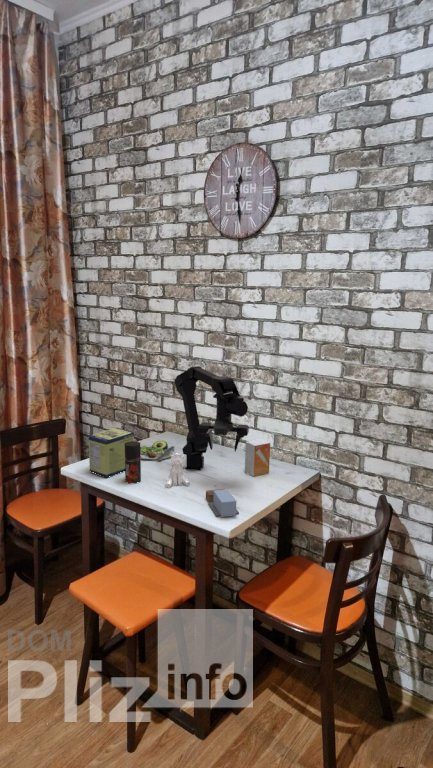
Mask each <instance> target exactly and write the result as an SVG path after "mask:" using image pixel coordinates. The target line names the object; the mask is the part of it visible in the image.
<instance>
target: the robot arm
mask: <svg viewBox="0 0 433 768" xmlns="http://www.w3.org/2000/svg"><path fill="white" fill-rule="evenodd" d="M198 381H200V382H202V383H204V384H206V385H208V386H210V387H211V390H212V391H213V392H214V393H215V394H213V396H212V398H213V399H216V411H215V412H216V414H215V415H216V418H215V421H214V424H213V425H212V422H204V421H202V422H201V423H200V418H199V414H198V408H197V404H196V403H197V402H196V397H195V393H196V390H197V383H198ZM174 385H175V388H176V392H177V393H178V394H179V395H180V396H181V398H182V399H181V400H182V404H183V408H184V414H185V419H186V423H187V429H188V432H187V436H186V438H185V439H186V444H185V445H184V446H183V448H182V454H183V455H185V457H186V459H185V460H186V462H185V463H186V466H185V470H189V471H191V470H192V471H202V469H203V468H204V466H205V456H203V454H206V453H207V451H208V447H209V448H210V450H211V451H212V450H213V446H214V443H213V435H214V436H215V435H216V436H219V435H220V436H227V435H228V433H230V432H231V433H236V435H235V441H234V453H235V452H236V451H237V449H238V447H239V444H240V443H239V442H240V441H241V439H242V438H245V437H247V436H248V435H249V433H250V427H249V425H248V424H238V426H234V423H233V421H232V415H234V416H238V417H239V418H241V417H245V415H246V414H247V412H248V409H249V407H248V404H247V402H246V401H245V400H244V399H245V398H244V397H241V394H240V392H239V391H240V390H238V387H237V385H236V383H235V380H234V378H232V377H231V376H230V377H229V376H224V375H223V376H222V375H221V376H220V375H217V374H215V373H212V372H210V371H208V370H207V369H204V368H202V367H201V366H200V365H197V366H190V367H188V368H187V370H185V371H183V372H181V373H180V374H177V375H176V377H175V379H174ZM213 431H214V432H213ZM213 433H214V434H213Z"/></svg>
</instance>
